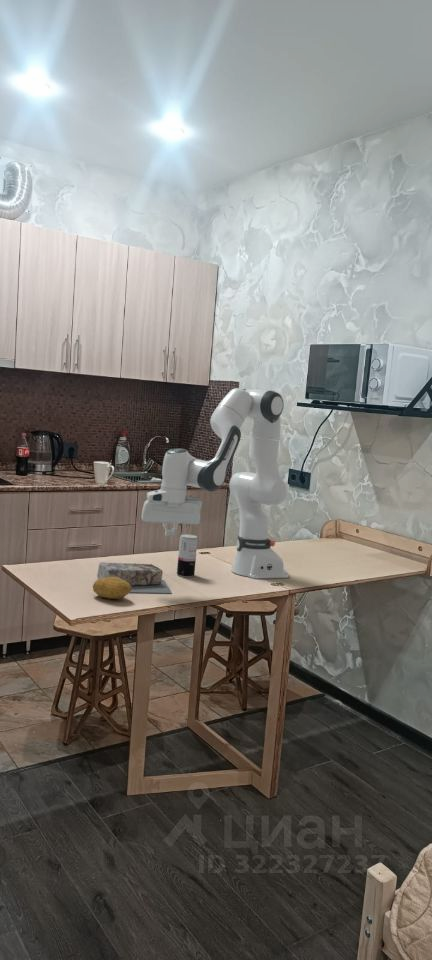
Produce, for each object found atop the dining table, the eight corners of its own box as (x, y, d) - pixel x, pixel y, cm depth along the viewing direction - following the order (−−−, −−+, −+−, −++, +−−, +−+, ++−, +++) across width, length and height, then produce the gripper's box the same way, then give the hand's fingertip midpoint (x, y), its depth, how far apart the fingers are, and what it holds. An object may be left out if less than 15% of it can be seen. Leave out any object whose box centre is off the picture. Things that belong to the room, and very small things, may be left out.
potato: (109, 591, 235) (110, 571, 235) (136, 601, 228) (137, 580, 227) (87, 595, 228) (89, 575, 228) (114, 605, 220) (116, 584, 220)
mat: (164, 581, 254) (164, 580, 254) (171, 594, 239) (172, 592, 239) (111, 579, 250) (111, 578, 250) (115, 592, 234) (115, 591, 234)
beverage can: (173, 574, 266) (176, 534, 264) (187, 572, 270) (190, 533, 268) (183, 578, 261) (187, 538, 259) (197, 576, 265) (201, 537, 263)
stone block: (163, 566, 246) (107, 566, 237) (162, 586, 246) (106, 587, 237) (150, 561, 258) (96, 562, 249) (149, 580, 258) (95, 581, 249)
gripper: (200, 496, 248) (197, 535, 250) (142, 492, 243) (139, 532, 245) (204, 499, 242) (200, 538, 244) (145, 495, 237) (141, 536, 239)
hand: (169, 535), depth 244 cm, fingers closed
